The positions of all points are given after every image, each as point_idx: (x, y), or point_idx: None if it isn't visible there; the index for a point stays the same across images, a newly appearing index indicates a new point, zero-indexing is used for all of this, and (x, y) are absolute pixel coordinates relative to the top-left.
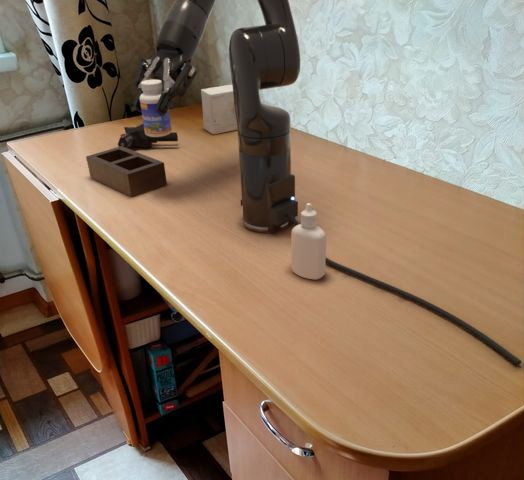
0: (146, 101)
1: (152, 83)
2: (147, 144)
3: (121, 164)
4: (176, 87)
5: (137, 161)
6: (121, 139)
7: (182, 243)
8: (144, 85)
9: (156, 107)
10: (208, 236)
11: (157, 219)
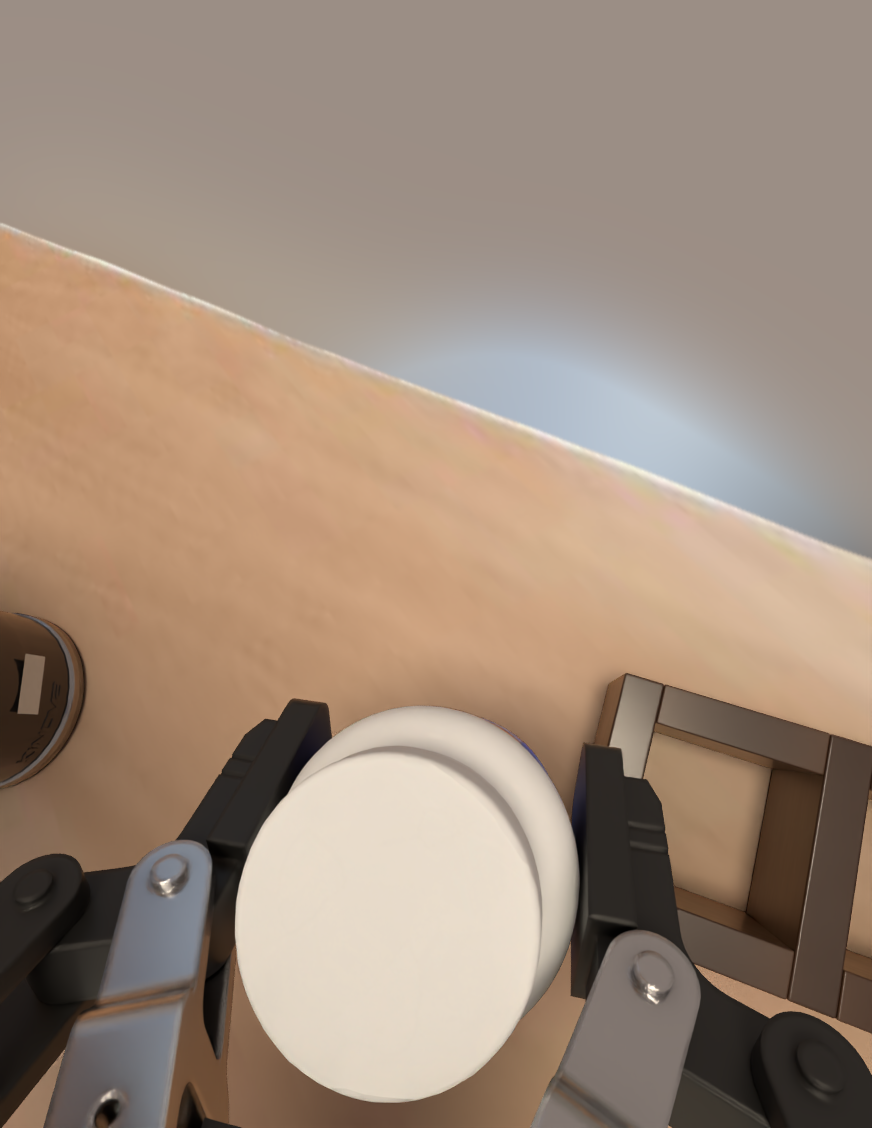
0: (402, 707)
1: (294, 813)
2: None
3: (809, 822)
4: (2, 885)
5: (784, 932)
6: None
7: (207, 461)
8: (401, 753)
9: (306, 711)
10: (153, 531)
11: (375, 559)
